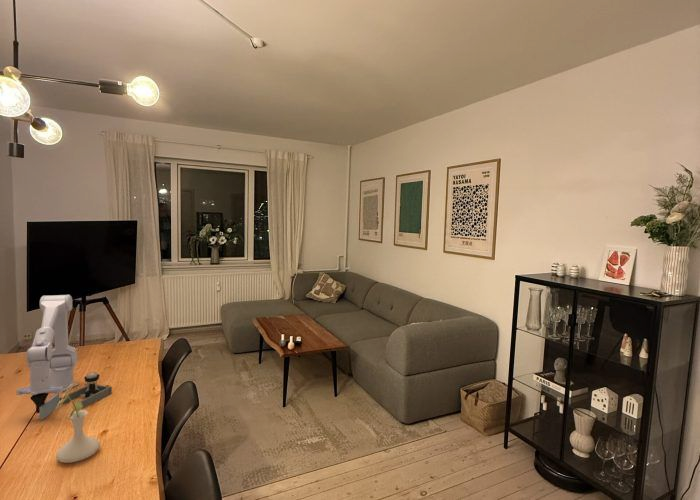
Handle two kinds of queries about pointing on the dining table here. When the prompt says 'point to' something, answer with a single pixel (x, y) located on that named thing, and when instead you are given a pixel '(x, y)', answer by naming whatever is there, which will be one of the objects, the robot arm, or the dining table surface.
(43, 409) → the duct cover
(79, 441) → the flower in vase
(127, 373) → the dining table surface
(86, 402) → the duct bay
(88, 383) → the push button
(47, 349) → the robot arm
